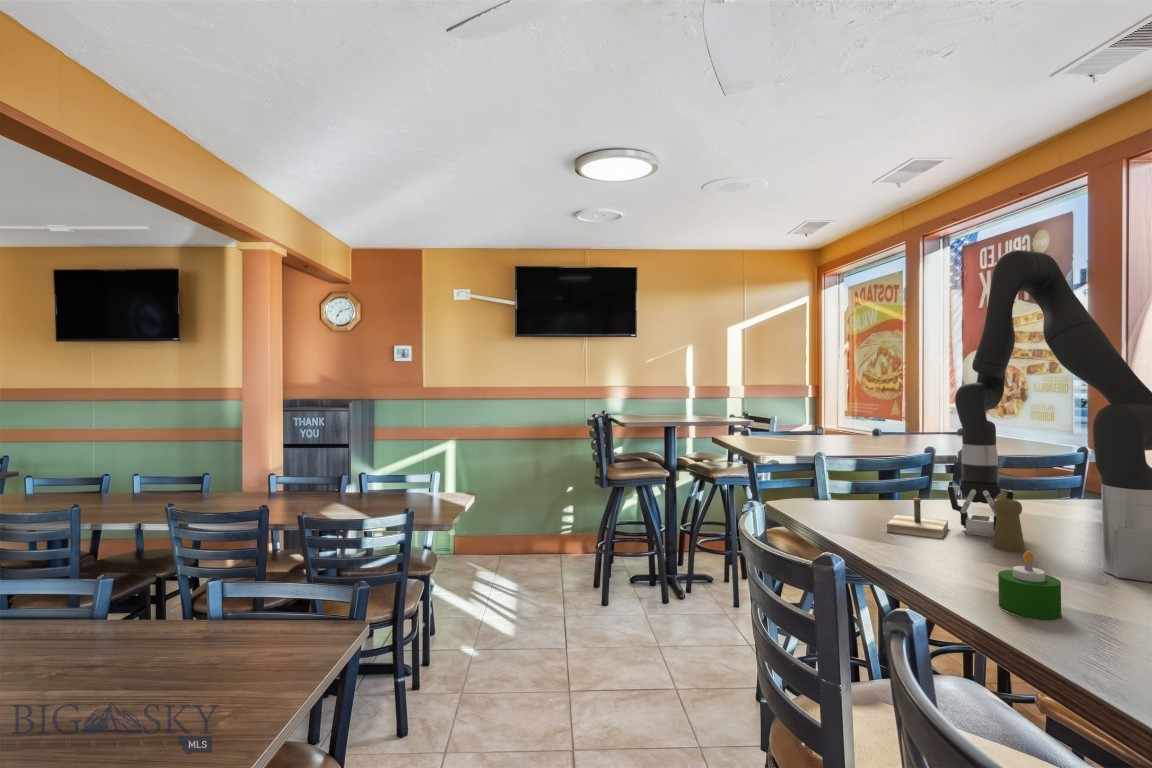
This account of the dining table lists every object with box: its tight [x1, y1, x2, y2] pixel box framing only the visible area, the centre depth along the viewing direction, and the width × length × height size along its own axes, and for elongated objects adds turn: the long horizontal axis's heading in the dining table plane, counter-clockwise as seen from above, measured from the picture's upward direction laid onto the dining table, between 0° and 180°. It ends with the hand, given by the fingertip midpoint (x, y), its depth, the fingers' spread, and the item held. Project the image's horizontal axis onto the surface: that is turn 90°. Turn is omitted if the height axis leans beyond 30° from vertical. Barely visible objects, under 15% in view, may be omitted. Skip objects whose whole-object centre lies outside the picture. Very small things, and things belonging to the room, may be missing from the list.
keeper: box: [886, 497, 949, 539], centre depth 151 cm, size 12×12×8 cm
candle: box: [997, 550, 1062, 621], centre depth 98 cm, size 8×8×10 cm
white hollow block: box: [965, 513, 994, 538], centre depth 148 cm, size 8×6×4 cm
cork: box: [992, 498, 1026, 553], centre depth 134 cm, size 6×6×11 cm
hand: (980, 529), depth 148 cm, fingers closed on white hollow block, 5 cm apart
